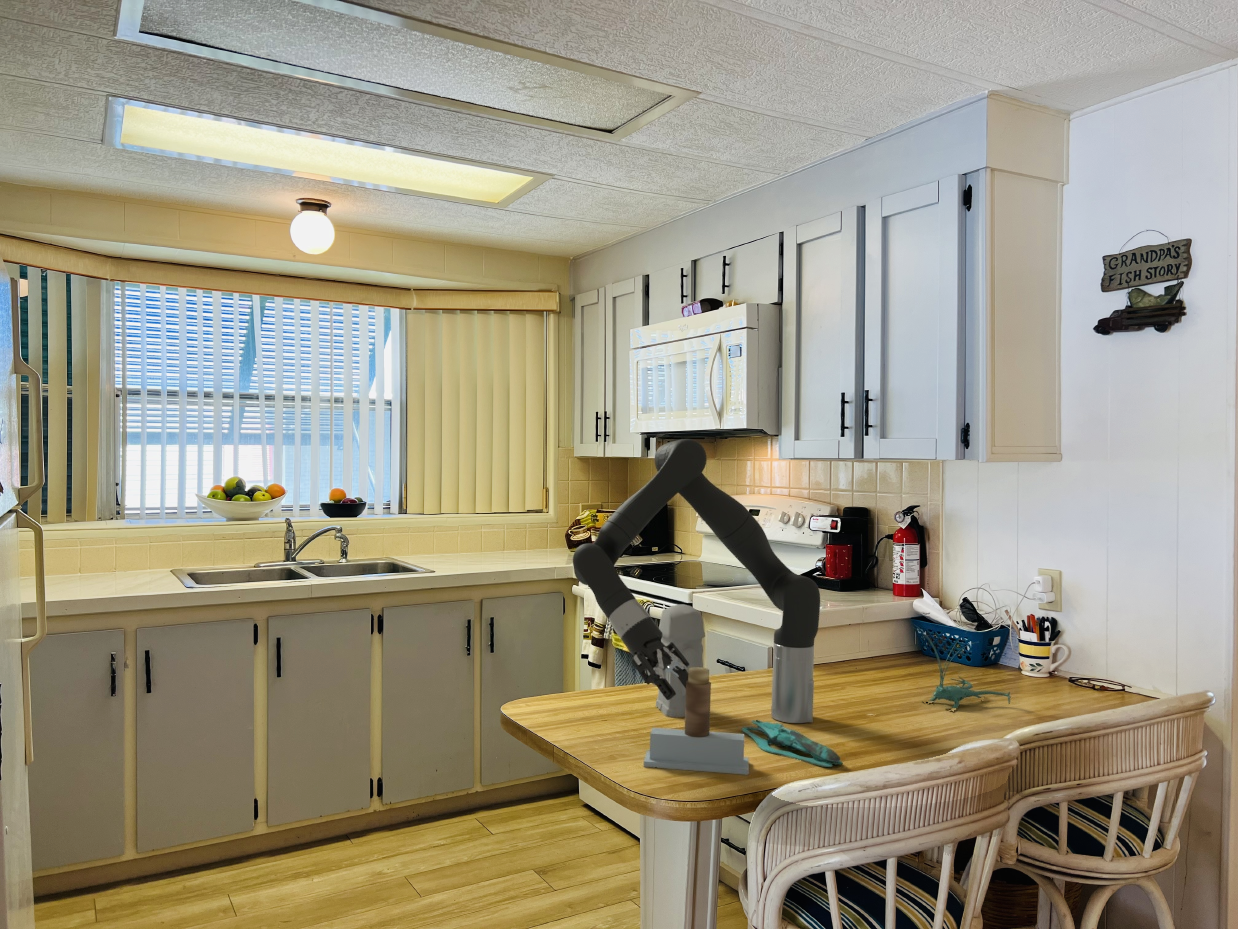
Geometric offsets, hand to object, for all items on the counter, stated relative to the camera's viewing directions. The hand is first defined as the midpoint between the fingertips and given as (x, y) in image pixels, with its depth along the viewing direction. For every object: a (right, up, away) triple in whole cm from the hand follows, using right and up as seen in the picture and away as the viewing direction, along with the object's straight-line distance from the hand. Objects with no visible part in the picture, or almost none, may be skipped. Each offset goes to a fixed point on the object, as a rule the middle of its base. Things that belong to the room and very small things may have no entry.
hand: (682, 693), depth 178 cm
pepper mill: (+3, -8, -1) cm, 8 cm away
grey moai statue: (+2, -13, +36) cm, 38 cm away
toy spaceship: (+23, -15, +10) cm, 29 cm away
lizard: (+70, -15, +48) cm, 86 cm away
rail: (+3, -14, -2) cm, 14 cm away
